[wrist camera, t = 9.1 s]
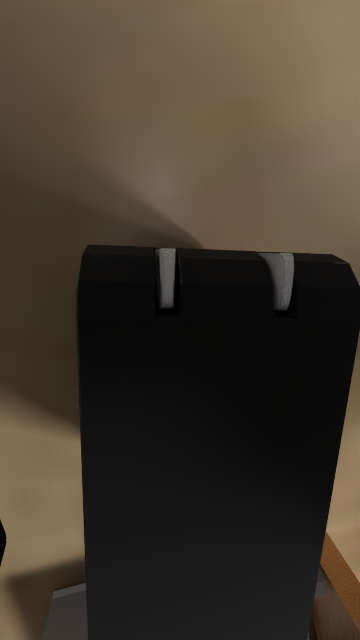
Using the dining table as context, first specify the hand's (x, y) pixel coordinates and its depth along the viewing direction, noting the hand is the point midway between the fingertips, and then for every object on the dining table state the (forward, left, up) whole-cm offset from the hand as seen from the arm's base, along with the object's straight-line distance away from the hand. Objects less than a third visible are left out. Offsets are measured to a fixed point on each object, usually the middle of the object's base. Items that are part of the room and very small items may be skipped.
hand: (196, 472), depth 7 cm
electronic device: (0, 0, -8) cm, 8 cm away
